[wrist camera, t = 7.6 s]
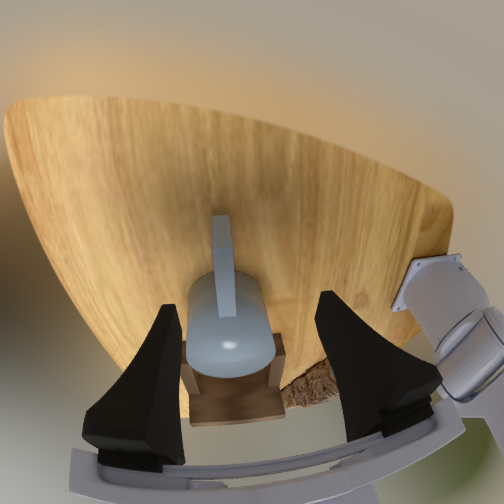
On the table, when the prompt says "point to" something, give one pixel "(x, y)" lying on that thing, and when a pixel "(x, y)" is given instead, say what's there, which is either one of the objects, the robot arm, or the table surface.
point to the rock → (311, 388)
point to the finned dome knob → (227, 316)
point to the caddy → (235, 393)
